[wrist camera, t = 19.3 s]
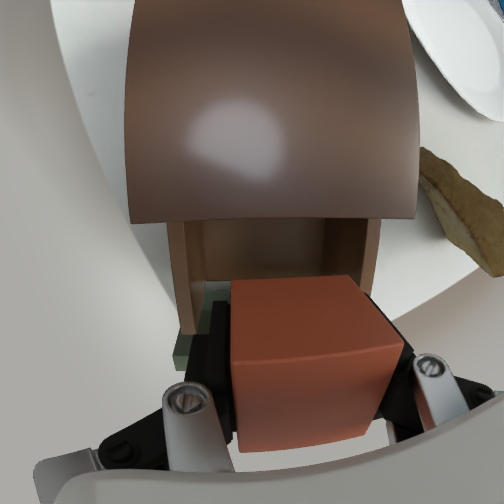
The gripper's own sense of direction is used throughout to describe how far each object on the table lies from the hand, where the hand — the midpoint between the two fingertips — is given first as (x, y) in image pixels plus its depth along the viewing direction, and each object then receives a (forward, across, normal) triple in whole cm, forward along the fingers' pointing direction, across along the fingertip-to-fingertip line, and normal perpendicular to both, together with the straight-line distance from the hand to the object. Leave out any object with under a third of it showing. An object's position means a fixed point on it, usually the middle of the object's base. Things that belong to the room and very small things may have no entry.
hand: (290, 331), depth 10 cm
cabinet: (+11, 0, -11) cm, 16 cm away
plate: (+12, -22, -23) cm, 34 cm away
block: (0, 0, 0) cm, 0 cm away
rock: (+12, -17, -4) cm, 21 cm away
